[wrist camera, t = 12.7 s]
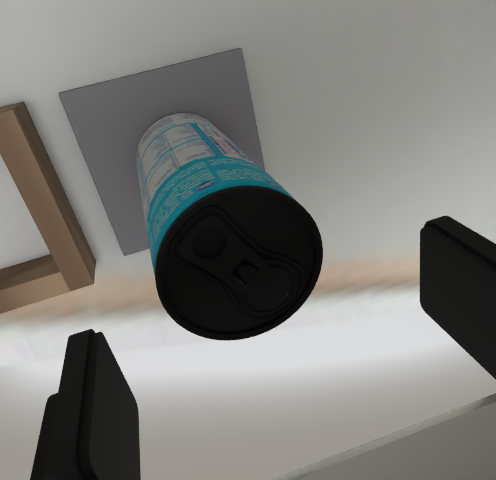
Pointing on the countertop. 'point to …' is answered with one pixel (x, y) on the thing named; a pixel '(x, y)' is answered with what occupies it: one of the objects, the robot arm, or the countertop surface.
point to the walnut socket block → (41, 219)
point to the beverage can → (222, 232)
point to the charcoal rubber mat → (145, 115)
